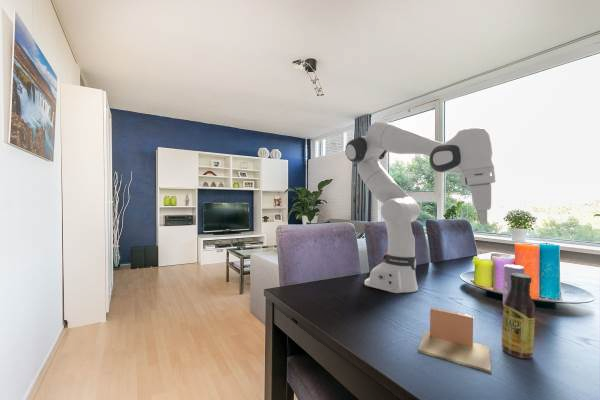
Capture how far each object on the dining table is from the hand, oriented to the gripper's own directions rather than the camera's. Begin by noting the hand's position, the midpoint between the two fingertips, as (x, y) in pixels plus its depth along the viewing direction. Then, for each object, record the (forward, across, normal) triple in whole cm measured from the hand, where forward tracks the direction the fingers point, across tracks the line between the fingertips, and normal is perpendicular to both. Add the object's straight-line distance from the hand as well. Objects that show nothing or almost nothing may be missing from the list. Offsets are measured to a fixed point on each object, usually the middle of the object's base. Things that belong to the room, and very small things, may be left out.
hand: (482, 222), depth 86 cm
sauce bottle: (+31, +18, +3) cm, 36 cm away
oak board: (+29, +25, -10) cm, 40 cm away
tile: (+29, +21, -11) cm, 37 cm away
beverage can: (+34, -19, +7) cm, 39 cm away
